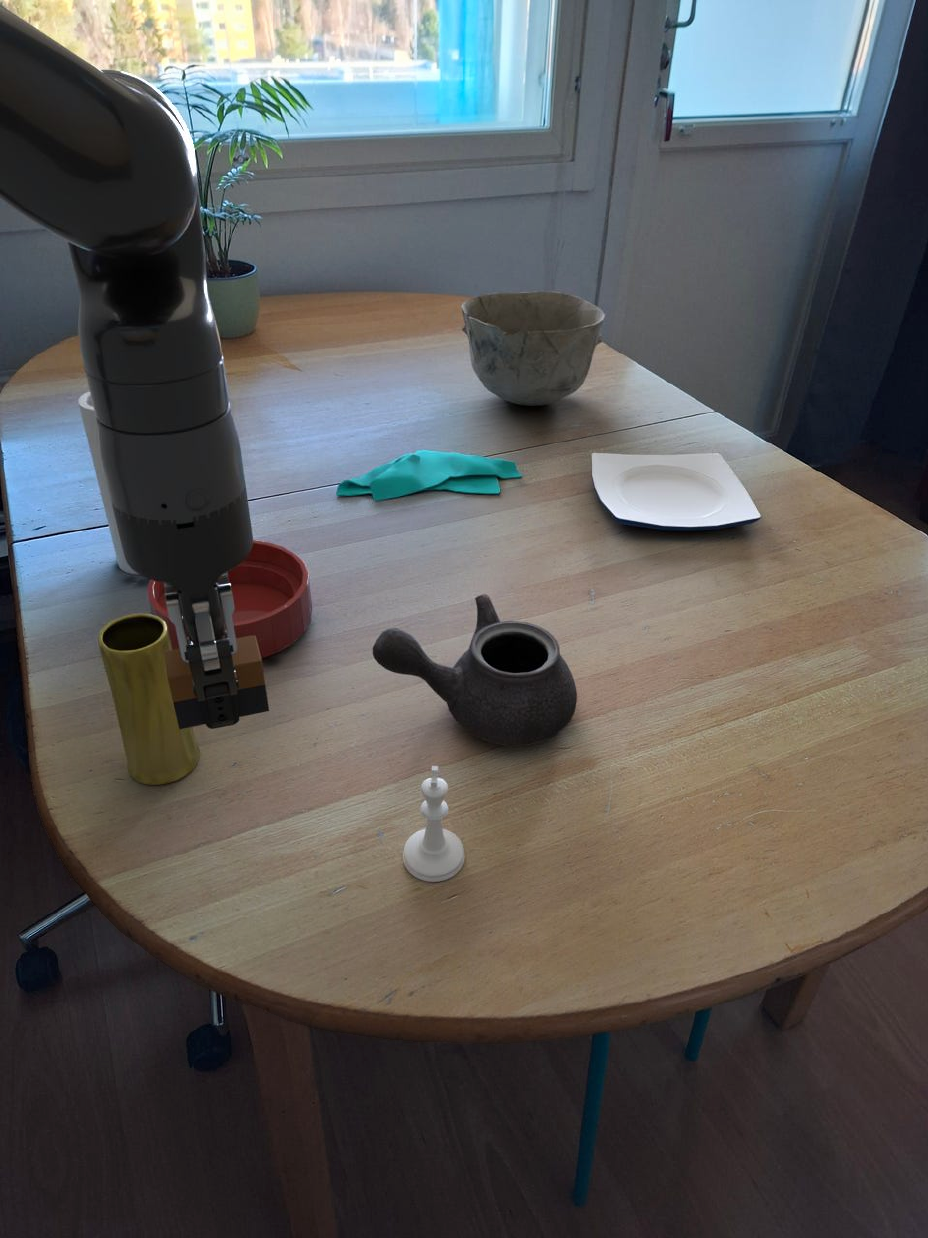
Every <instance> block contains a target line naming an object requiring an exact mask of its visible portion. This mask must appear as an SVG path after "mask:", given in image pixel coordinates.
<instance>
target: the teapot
mask: <svg viewBox="0 0 928 1238" xmlns="http://www.w3.org/2000/svg"><path fill="white" fill-rule="evenodd" d="M474 600H475V604H476V626H475V628H474V632H473V635H472V637H471V640H470V642H469V643H470V644H469V647H468V648H467V650H466V651H465V652H464V653H463V654H462V655H461V656H460V658H459V659H457V662H456V663H455V664H454V666H453V667H451V666H446V665H443V664H439V663H437V662H435V661H433V660H432V659H431V658H430V657H429V656H428V655H427V653H426V652H425V651H424V650H423V648H422V646H421V645H420V643H419V642H418V641H417V640H416V639H415V637H414V636H413V635H412V634H411V633H408V632H406V631H404V630H402V629H401V628H397V627H390V628H387V629H385V630H383V631H382V632H381V633H380V635H379V636H378V637H377V638H376V640H375V642H374V644H373V646H372V656H373V659H374V661H376V662H377V664H378V665H379V666H381V667H382V668H384V669H385V670H387V671H389V672H392V673H394V674H398V675H407V676H414V677H418V678H419V679H421V680H423V681H424V682H425V683H426V684H427V685H428V687H430V689H431V690H433V692H434V693H435V694H436V695H438V697H440V698H441V699H442V700H443V701H444V702H445V703H446V705H447V708H448V711H449V714H451V716H452V717H453V719H454V720H455V722H456V723H457V724H458V725H460V727H461V728H462V729H463V730H465V731H466V732H467V733H469V734H471V735H472V736H474V737H476V738H478V739H481V740H483V741H486V742H487V743H490V744H491V743H492V744H496V745H502V746H510V747H511V746H512V747H513V746H514V747H516V746H518V747H519V746H528V745H534V744H538V743H541V742H544V741H546V740H548V739H550V738H552V737H554V736H556V735H558V734H559V733H560V732H562V731H563V730H564V729H565V728H566V726H567V725H568V724H569V723H570V722H571V721H572V719H573V716H574V714H575V712H576V708H577V703H578V702H577V701H578V693H577V691H578V690H577V687H576V686H577V685H576V682H575V679H574V676H573V674H572V671H571V669H570V667H569V665H568V664H567V662H566V660H565V659H564V657H563V656H562V655H561V652H560V651H561V650H560V645H559V642H558V640H557V639H556V638H555V636H554V635H553V634H551V632H549V630H547V629H545V628H543V627H541V626H540V625H538V624H534V623H531V622H527V621H518V620H506V621H505V620H504V621H501V620H500V618H499V616H498V613H497V611H496V609H495V606H494V604H493V602H492V599H491V598H490V596H489V595H488V594H485V593H484V594H480V595H477V596H476V597H475V598H474Z"/></svg>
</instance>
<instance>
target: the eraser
mask: <svg viewBox="0 0 928 1238" xmlns="http://www.w3.org/2000/svg"><path fill="white" fill-rule="evenodd" d="M236 642H237V651H236V653H235V654H233V655H232V660H233V666H234V671H236V677H237V678H235V679H236V680H238V684H239V688H237V693H238V694H235V695H236V701H237V706H238V712H239V718H242V717H243V718H244V717H248V716H253V715H258V714H262V713H266V712H270V706H269V698H268V693H267V685H266V679H265V673H264V665H263V660H262V659H263V658H261V655H260V651H259V647H258V643H257V639H256V636H255V635H253V636H248V637H242V638H237V639H236ZM165 660H166V668H167V677H168V682H169V687H170V691H171V695H172V700H173V704H174V708H175V713H176V717H177V721H178V726H179V729H184V728H189V727H192V728H193V727H199V726H203V725H206V722H205V717H204V713H203V708H202V703H201V701H199V702H198V699H197V696H194V690H193V689H194V688H195V686H194V685H193V680H192V674H191V670H190V666H189V663H187V662H185V661H183V659H182V657H181V652H180V649H175V650H169V651H165Z"/></svg>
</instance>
